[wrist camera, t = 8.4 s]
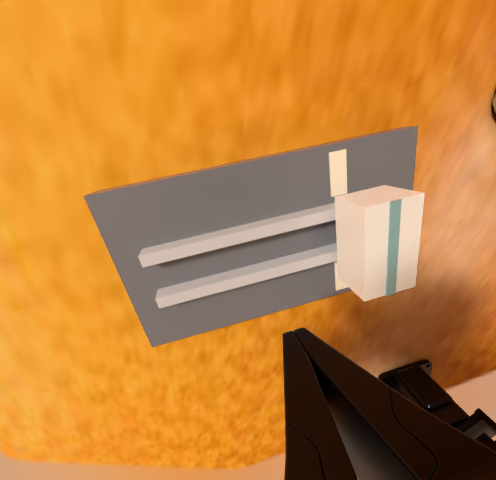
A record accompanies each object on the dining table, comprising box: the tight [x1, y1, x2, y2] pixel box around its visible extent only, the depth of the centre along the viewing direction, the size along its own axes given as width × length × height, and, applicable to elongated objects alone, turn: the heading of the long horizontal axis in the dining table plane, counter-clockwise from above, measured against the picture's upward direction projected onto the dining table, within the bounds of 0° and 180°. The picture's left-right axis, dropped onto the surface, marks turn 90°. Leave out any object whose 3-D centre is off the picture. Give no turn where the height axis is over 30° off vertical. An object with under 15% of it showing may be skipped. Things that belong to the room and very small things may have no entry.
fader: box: [335, 185, 425, 302], centre depth 16 cm, size 6×4×5 cm, turn 11°
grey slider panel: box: [84, 126, 418, 347], centre depth 18 cm, size 12×22×3 cm, turn 101°
